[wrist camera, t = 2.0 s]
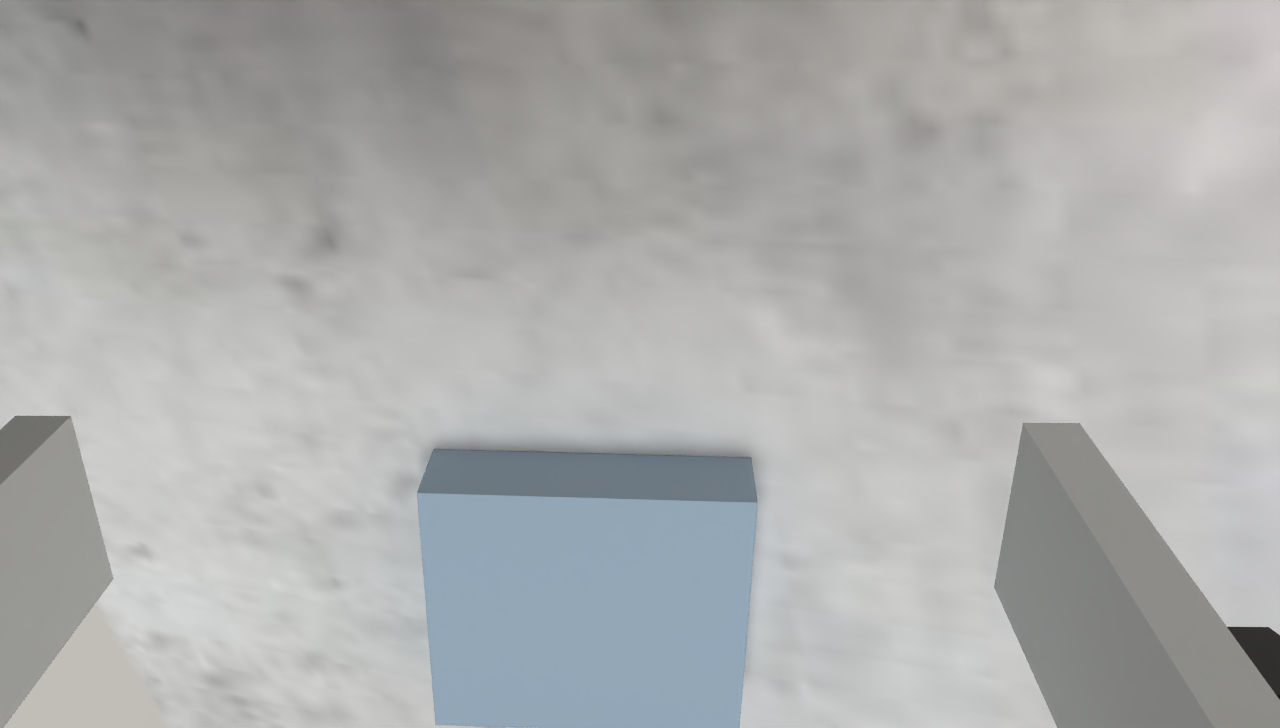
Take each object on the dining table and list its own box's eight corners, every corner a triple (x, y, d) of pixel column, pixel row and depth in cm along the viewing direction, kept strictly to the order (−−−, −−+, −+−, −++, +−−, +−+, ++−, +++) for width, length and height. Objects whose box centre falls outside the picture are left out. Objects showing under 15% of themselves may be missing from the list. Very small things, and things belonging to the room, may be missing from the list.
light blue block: (451, 663, 38) (435, 725, 36) (436, 442, 34) (417, 492, 32) (733, 671, 38) (739, 734, 36) (750, 451, 34) (757, 502, 32)
